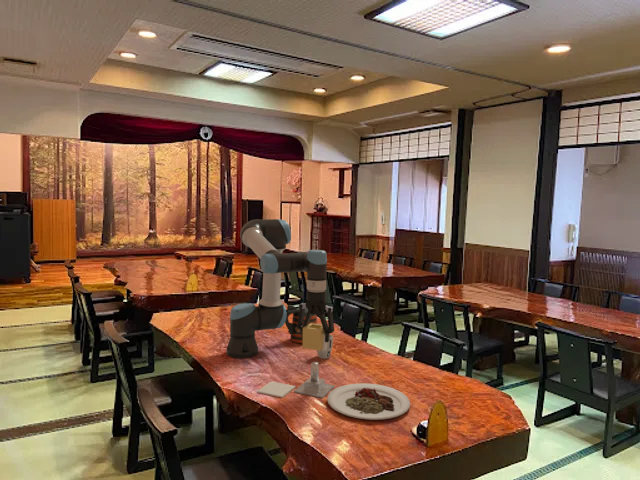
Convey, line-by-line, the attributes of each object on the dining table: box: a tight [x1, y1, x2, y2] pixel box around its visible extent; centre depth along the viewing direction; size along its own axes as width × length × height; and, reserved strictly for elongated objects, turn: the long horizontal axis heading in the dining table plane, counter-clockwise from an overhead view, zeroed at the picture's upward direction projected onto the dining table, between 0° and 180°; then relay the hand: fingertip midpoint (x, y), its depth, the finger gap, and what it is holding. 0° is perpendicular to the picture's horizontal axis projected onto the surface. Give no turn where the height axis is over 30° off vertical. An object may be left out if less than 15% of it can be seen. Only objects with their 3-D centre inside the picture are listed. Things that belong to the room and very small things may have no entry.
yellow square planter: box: [301, 323, 328, 351], centre depth 183 cm, size 7×7×8 cm
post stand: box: [293, 361, 335, 399], centre depth 184 cm, size 12×12×11 cm
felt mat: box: [256, 380, 297, 399], centre depth 183 cm, size 11×11×1 cm
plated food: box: [326, 382, 411, 421], centre depth 172 cm, size 30×30×3 cm
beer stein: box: [284, 304, 318, 345], centre depth 247 cm, size 19×15×20 cm
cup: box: [316, 334, 334, 360], centre depth 222 cm, size 8×8×10 cm
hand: (315, 348), depth 183 cm, fingers closed on yellow square planter, 7 cm apart
